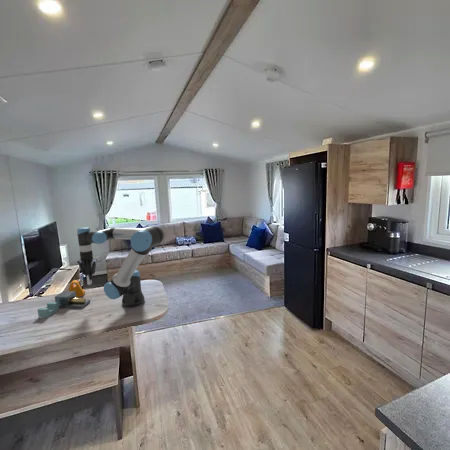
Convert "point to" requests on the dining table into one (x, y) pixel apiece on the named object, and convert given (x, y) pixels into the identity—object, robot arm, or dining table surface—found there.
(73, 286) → the bracket
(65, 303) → the block
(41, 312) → the v block
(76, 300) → the axle
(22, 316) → the dining table surface
